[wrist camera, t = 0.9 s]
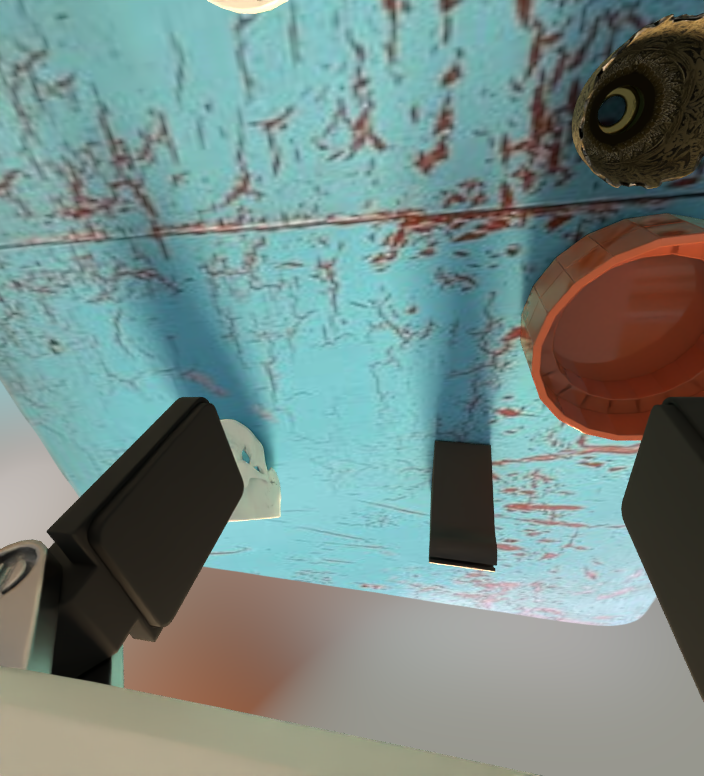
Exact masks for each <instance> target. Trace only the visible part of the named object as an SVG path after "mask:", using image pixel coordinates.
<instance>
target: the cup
mask: <svg viewBox="0 0 704 776" xmlns="http://www.w3.org/2000/svg"><path fill="white" fill-rule="evenodd" d="M673 15H674V14H671V15H668V16H666V17H664V18H662V19H660V20H659V21H657V22H655V23H652V24H649V25H647V26H645V27H644V28H642V29H641V30H639V31H638V32H636V33H635V34H634V35H633V36H632V37H631V38H630V39H629V40H628V41H627V42H626V43H624V44H623V45H622V46H621V47H619V48H618V49H617V50H616V51H615V52H613V53H612V54H611V55H610V56H609V57H608V58H607V59H606V60H605V61H604V62H603V63H602V64H601V65H600V66H599V67H598V68H597V69H596V70H595V72H594V73H593V74H592V75H591V77H590V78H589V79H588V81H587V83H586V84H585V86H584V87H583V89H582V91H581V93H580V95H579V97H578V100H577V102H576V105H575V109H574V113H573V118H572V137H573V142H574V144H575V147H576V150H577V152H578V154H579V155H580V157H581V158H582V160H583V161H584V162H585V163H586V164H587V165H588V167H589V168H590V169H591V170H592V172H593V173H594V174H596V175H597V176H598V177H600V178H601V179H602V180H604V181H605V182H606V183H608V184H610V185H611V186H613V187H616V188H619V186H621V185H623V186H627V187H631V186H642V187H644V188H645V189H650V188H656V187H659V186H660V185H661V184H662V182H666V181H673V180H677V179H679V178H682V177H684V176H687V175H689V174H691V173H692V172H693V171H694V170H695V169H696V168H697V166H698V165H699V163H700V161H701V159H702V158H703V156H704V13H703V14H700V15H697V16H693V15H692V16H689V15H687V14H685V15H681V16H679V17H674V16H673ZM613 96H620V97H622V98H623V99H624V100H625V102H626V110H625V113H624V115H623V117H622V118H621V119H620V120H619V121H618V122H617V123H615V124H613V125H610V126H605V125H602V124H601V123H600V122H599V120H598V111H599V109H600V107H601V105H602V104H603V102H604V101H606V100H607V99H608V98H610V97H613Z"/></svg>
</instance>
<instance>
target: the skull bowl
mask: <svg viewBox="0 0 704 776" xmlns="http://www.w3.org/2000/svg"><path fill="white" fill-rule="evenodd" d="M220 421H221V424H222V427H223V429H224V432H225V435H226V437H227V440H228V442H229V445H230V448H231V450H232V453H233V455H234V458H235V461H236V463H237V466H238V468H239V471H240V474H241V476H242V479H243V482H244V492H243V495H242V497H241V499H240V501H239V503H238V504H237V506H236V508H235V510H234V512H233V513H232V515H231V517H230V519H229V520H228V522H230V521H243V520H256V519H268V518H278V517H281V511H280V503H281V490H280V482H279V479H278V476H277V473H276V472H275V470H274V469H272V468H270V469H269V470H267V467H266V463H265V454H264V449H263V446H262V444H261V443H260V442H259V441H258V439H257V438H256V437H255V435H254V434H253V433H252V432H251V431H250V430H249V429H248V428H247V427H246V426H244V425H243V424H241V423H240V422H238V421H236V420H233V419H223V420H220ZM243 449H244V451H245V452H246V453H247V454H248V456H249V458H250V464H248V463H246V461H244V460H242V451H243ZM255 466H258V469H259V472H258V471H257V470H256V469H255V468H254V467H255Z"/></svg>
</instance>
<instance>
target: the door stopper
mask: <svg viewBox="0 0 704 776" xmlns="http://www.w3.org/2000/svg"><path fill="white" fill-rule="evenodd" d="M429 563H434V564H441V565H449V566H456V567H463V568H470V569H477V570H484V571H491V572H495V568H494V567H493V565H497V544H496V537H495V526H494V504H493V482H492V460H491V445H484V444H472V443H460V442H447V441H435V445H434V459H433V473H432V487H431V510H430V545H429Z"/></svg>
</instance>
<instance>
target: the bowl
mask: <svg viewBox="0 0 704 776" xmlns="http://www.w3.org/2000/svg"><path fill="white" fill-rule="evenodd" d="M520 341H521V345H522V348H523V351H524V354H525V357H526V360H527V362H528V365H529V368H530V371H531V374H532V377H533V380H534V383H535V386H536V389H537V392H538V394H539V397H540V399H541V401H542V402H543V403H544V404H545V405H546V406H547V407H548V408H549V410H550V411H551V412H552V413H553V414H554V415H555V416H556V417H557V418H558V419H559V420H560V421H562V422H564V423H566V424H568V425H570V426H572V427H573V428H575V429H577V430H579V431H581V432H583V433H585V434H589V435H593V436H598V437H602V438H607V439H611V440H617V441H618V440H642V437H643V434H644V431H645V428H646V424H647V421H648V418H649V415H650V412H651V409H652V408H653V406H654V405H662V403H663V401H664V400H665V399H666V398H668V397H704V220H703V219H698V218H692V217H686V216H680V215H675V214H669V213H667V214H666V213H665V214H657V215H649V216H642V217H634V218H627V219H624V220H621V221H619V222H617V223H614V224H612V225H609V226H607V227H604V228H602V229H600V230H597V231H595V232H592V233H590V234H588V235H586V236H585V237H583V238H582V239H581V240H579V241H578V242H577V243H575V244H574V245H572V246H571V247H570V248H568V249H567V250H566V251H564V252H563V253H562V254H560V255H559V256H558V257H556V259H554V261H553V262H552V263H551V264H550V266H549V267H548V268H547V269H546V270H545V272H544V273H543V274H542V275H541V277H540V278H539V279H538V280H537V282H536V283H535V284H534V286H533V287H532V290H531V292H530V295H529V297H528V299H527V302H526V304H525V307H524V309H523V312H522V315H521V335H520Z"/></svg>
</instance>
